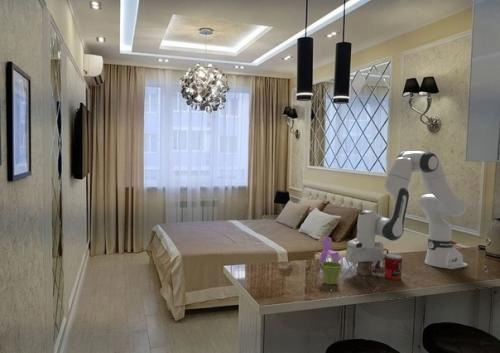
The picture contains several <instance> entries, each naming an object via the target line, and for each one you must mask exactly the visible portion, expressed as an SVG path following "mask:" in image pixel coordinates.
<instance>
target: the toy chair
mask: <svg viewBox="0 0 500 353" xmlns="http://www.w3.org/2000/svg"><path fill="white" fill-rule="evenodd" d="M321 244H322V246H323V250H322V251H321V253H320V261H319V262H318V265H321V263H322V262H327V259H328V258H327V257H328V255H329V256H330V257H331V259H332V262H337V263H339V258H340V253H339V251H336V250H332V249H330V247H332V245H333V240H332V237H330V236H324V237H323V238H322V241H321Z"/></svg>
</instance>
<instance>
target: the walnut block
mask: <svg viewBox="0 0 500 353" xmlns="http://www.w3.org/2000/svg"><path fill="white" fill-rule="evenodd" d="M356 266H357V267H359V270H358V271H356V273H357V274H359V275H362V276H372V271H373V270H372V263H371V262H368V261H367V262H357V264H356Z"/></svg>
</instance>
